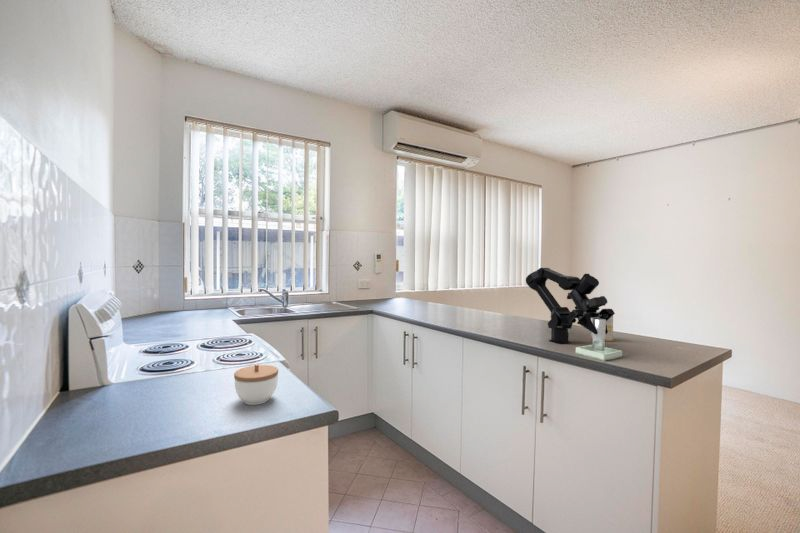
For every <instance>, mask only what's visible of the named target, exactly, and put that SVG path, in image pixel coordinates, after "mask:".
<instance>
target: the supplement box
mask: <svg viewBox="0 0 800 533" xmlns="http://www.w3.org/2000/svg"><path fill="white" fill-rule="evenodd" d="M600 311H601V310H597V312H600ZM591 321H592V323H593V318H591ZM606 325H607V331H608V333H607V334H605V342H613V341H614V340H613V339H614V315H613V316H612V317H611V318H610V319H609V320H607V321H606ZM592 336H593V333H592V332H591V337H592Z"/></svg>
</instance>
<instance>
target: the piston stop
mask: <svg viewBox="0 0 800 533" xmlns="http://www.w3.org/2000/svg"><path fill="white" fill-rule="evenodd" d="M593 325H594V326H595V328H596V330H597V332H598V333H597V334H594V333H593V336H592V335H591V339H592V340H591V341H592V343H591V345H592V349H593V350H597V351H605V347H606V341H605V332H606V319H602V318H593Z"/></svg>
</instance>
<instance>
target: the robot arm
mask: <svg viewBox="0 0 800 533" xmlns="http://www.w3.org/2000/svg"><path fill="white" fill-rule="evenodd" d="M548 280H550V281H552V282H554V283H557V285H558V287H559V288H561V289H562V290H563V291H570V292H567V295H566V299H567V300H572V302H573V304H574V305H575V306H574V309H572V310H571V311H570V309H569V308H568V307H567V306H561V305H560V303H559V302H558V301H557V300H556V298H555V297H554V295H553V294H552V292H551V291H550V290H549V289H548V288H547V286H546V285H547V283H546V282H547V281H548ZM525 283H526V285H527V286H528V287H529V288H530V289H531V290H533V291H535V292H536V293H537V294H538V296H539V297H540V299H541V300H542V301H543V303H544V305H545V306H546V307H547V309H548V310H549V312H550V320H549V321H548V322H547V327H548V328H549V329H551V330H550V331H551V334H550V335H551V336H550V337H551V338H550V339H548V342H552V343H556V344H559V345H562V344H568V343H571V341H570V340H569V337H570V336H569V334H570V333H569V330H571V329H572V327H573V324H575V323H576V324H577V325H580V326H581V327H583V328H584V329H587V330H588V331H590V332H591V334H592V333H594V334H597V333H598V332H597V330H596V328H595V326H594V325H593V323H592V318H602V319H606V321H607V320H609V319H610V318H611V317H612V316H613V317H614V315H615V314H616V313H615V310H613V309H612V308H602V309H601V310H600V307H605V306H606V305H607V304H608V298H606V296H604V295H600V296H598V297H592V298H589V297H588V295H590V294H592V293H593V292H594V291H595V289H597V287H598V286H599V285H600V281H599V280H598V279H597V278H596V277H594V276H593V275H590V273H583V275H582V277H581V278H580V277H578V276H573V275H565V274H562V273H560V272H558V271H555V270H553V269H551V268H549V267H540V268H538V269H537V270H535V271H532V272H531V273H529V274H528V275H527V276H526V278H525ZM597 311H600V312H597ZM607 333H608V331H607V325H606V332H605V334H607Z"/></svg>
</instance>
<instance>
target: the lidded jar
mask: <svg viewBox="0 0 800 533" xmlns="http://www.w3.org/2000/svg"><path fill="white" fill-rule="evenodd" d="M233 376H234V378H233V379H234V387H235V388H234V389H235V393H236V395H237V397H238V398H239V399H240V400H241V401H243V403H244V404H246V405H248V406H257V405H262V404H265V403H267V402H268V401H269V400H270V398H271V397H272V396H273V395H274V394H275V391H276V389H277V385H278V379H279V377H278V376H279V368H278V367H277V366H273V365H269V364H257V363H255V364H254V365H250V366H245V367H241V368H240V369H237V370H236V371H235V372H234V373H233Z"/></svg>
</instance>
